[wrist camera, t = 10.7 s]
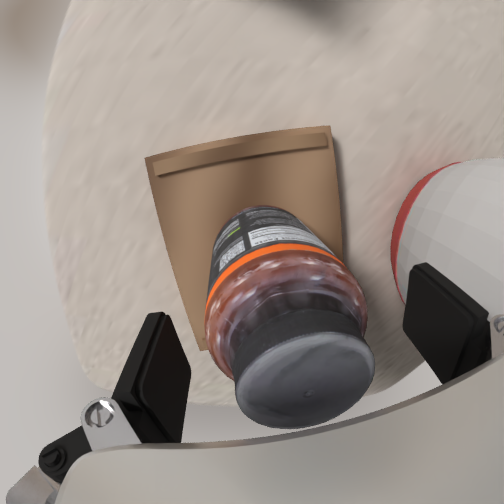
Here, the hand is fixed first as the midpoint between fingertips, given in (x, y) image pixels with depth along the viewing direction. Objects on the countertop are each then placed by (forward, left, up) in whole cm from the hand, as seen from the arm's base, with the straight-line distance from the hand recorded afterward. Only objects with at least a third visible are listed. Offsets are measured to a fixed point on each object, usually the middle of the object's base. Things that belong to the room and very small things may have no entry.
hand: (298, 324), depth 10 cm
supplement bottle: (0, 0, -8) cm, 8 cm away
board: (+1, 0, -9) cm, 9 cm away
